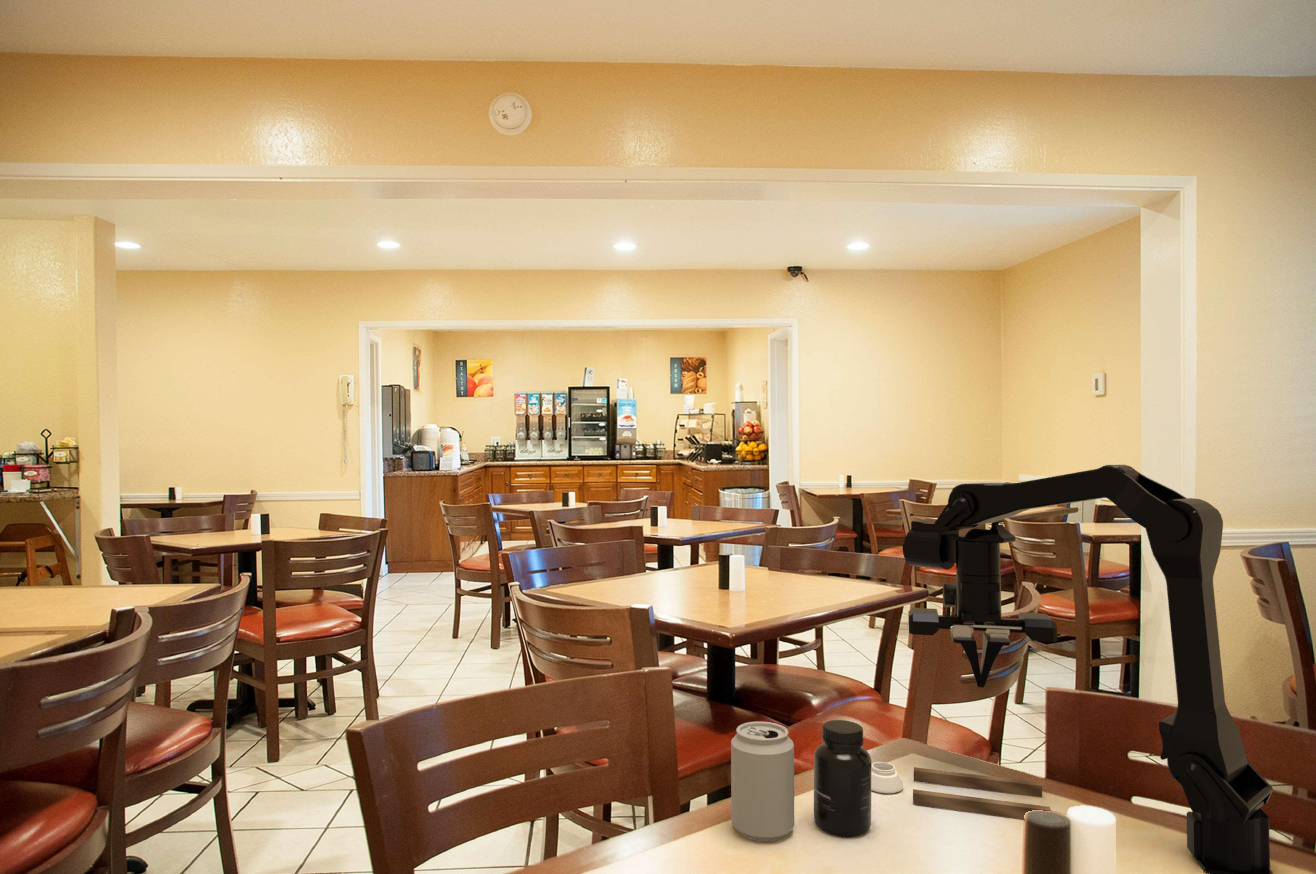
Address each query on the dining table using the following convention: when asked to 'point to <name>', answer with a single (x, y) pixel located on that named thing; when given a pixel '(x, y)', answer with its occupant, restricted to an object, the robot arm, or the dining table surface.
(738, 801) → the can
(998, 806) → the chute
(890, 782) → the lidless jar
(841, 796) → the supplement bottle
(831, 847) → the dining table surface
